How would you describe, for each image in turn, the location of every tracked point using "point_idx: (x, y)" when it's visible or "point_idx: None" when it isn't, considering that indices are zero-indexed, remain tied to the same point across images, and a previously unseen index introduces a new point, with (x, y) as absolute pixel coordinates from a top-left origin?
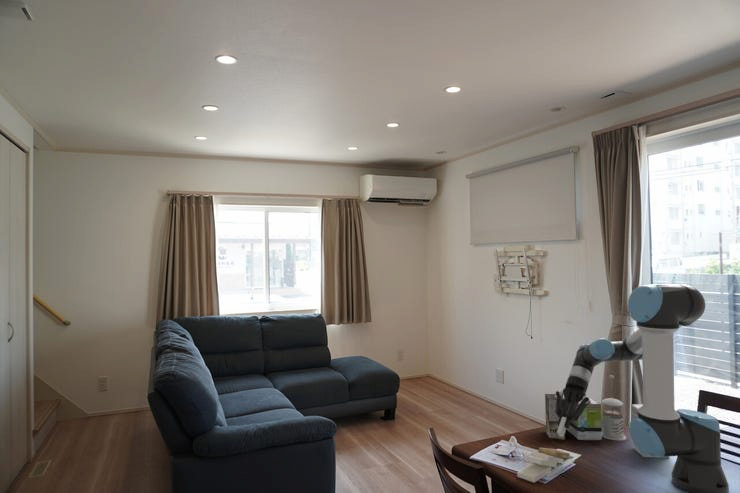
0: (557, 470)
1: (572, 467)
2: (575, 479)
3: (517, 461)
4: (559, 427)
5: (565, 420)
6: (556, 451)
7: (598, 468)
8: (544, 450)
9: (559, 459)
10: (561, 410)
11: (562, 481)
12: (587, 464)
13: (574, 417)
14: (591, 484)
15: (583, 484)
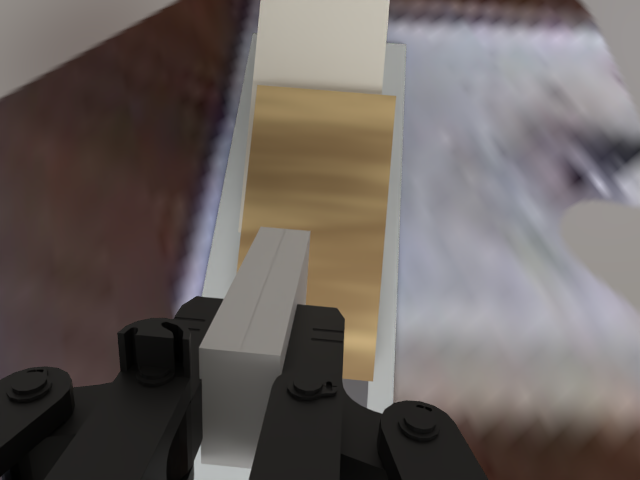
0: (241, 119)
1: (182, 247)
2: (130, 103)
3: (503, 124)
4: (290, 255)
5: (214, 331)
6: (280, 186)
7: (13, 346)
8: (344, 96)
9: (246, 165)
10: (336, 477)
11: (187, 46)
12: (96, 369)
13: (21, 378)
14: (40, 97)
15: (80, 74)
